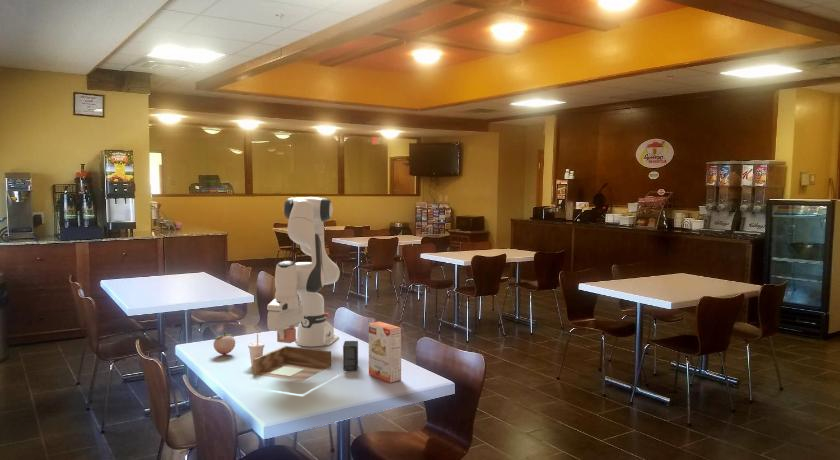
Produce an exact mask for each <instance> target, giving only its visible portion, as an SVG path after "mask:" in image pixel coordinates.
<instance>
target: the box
mask: <svg viewBox="0 0 840 460" xmlns="http://www.w3.org/2000/svg"><path fill="white" fill-rule="evenodd" d="M342 350H343V351H342V353H343V354H342V359H343V361H342V366H343V367H342V369H343V372H358V367H359V342H358V340H345V341H344V342H343V347H342Z"/></svg>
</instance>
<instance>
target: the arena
mask: <svg viewBox="0 0 840 460" xmlns="http://www.w3.org/2000/svg"><path fill="white" fill-rule="evenodd" d="M283 366H285V367H293V368H300V369H305V370H303V371H301V372H299V373H297V374H295V375H293V376H291V377H289V376H282V375H275V374H269V373H270V372H272V371H274V370H277V369H279V368H281V367H283ZM330 367H332V350H323V349H316V348H307V347H298V346H297V347H296V346H290V345H284V346H282V347H279V348H277V349H275V350H272V351H270V352H267V353H265V354H263V355H262V356H260V357H257V358H255V359H253V367H252V368H253V375H255V376H262V377H268V378H269V377H270V378H276V379H285V380H290V381H291V380H292V381H296V382H297V381H299V382H303V381H305V380H306V379H309V378H311V377H313V376H314V375H317V374H318V373H320V372H322V371H324V370H326V369H328V368H330Z"/></svg>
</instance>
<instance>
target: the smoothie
mask: <svg viewBox="0 0 840 460" xmlns="http://www.w3.org/2000/svg"><path fill="white" fill-rule="evenodd" d="M247 346H248V347H247V348H249V354H250V364H251V367H252V368H253V359H255V358H257V357H260V356H262V355H264V347H265V343H263V342H259V333H256V342H251V343H249V344H248V345H247Z"/></svg>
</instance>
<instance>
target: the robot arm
mask: <svg viewBox="0 0 840 460" xmlns="http://www.w3.org/2000/svg"><path fill="white" fill-rule="evenodd" d="M283 204H284V205H283V214H284V216H285V218H286V219H287V220H288V223H287V231H286V232H287V235H288V237H289V239H290V240H291V241H293V242H294V243H295V244H297V245H299V247H300V251H302V253H304V254H305V255H307V256H310V257H311V261H298V262H296V261H291V260H283V261H279V262H278V263H277V264H276V266H275V272H274V273H275V274H274V287H275V293H274V299H272V301H270V302H269V303H268V304H267V305H266V306H267V307H266V309H267V310H268V312H267V314H266V315H267V317H266V318H267V319H266V322H267V328H268V330H269V331H273V332H276V331H277V330H278V332H279V335H280V339H285V338H286V337H285V336H286V334H284V328H295V329H296V325H297V324H298V325H297V331H296V341H295V343H296V344H297V345H298V346H301V347H321V346H330V345H332V344H334V342H336V341H337V340H339V335H337V334H335V333H334V332H335V331H334V329H335V328H334V326H332V324H331V323H330V322H328V321H327V318H328V317H329V312H325V298H324V296H323V295H322V294H321V293H318V292H319V291H321V290H322V289H323V288H324V286H325V285H326V286H327V285H333V284H335V283H336V282H337V281H339V278H340V274H341V271H340V268H339V267H338V265H337V263H335V262H334V261H332V259H331V258H330V257H329V256H328V254H327V251H326V246H325V245H326V244H325V227H324V225H325V224H324V223H326V222H327V221H329V220H331V218H332V215H333V212H334V206H333V203H332V201H331V199H329V198H326V197H315V196H307V197H306V196H305V197H304V196H303V197H302V196H301V197H295V196H294V197H289V198H287V199H286V200H285V201H284V203H283Z"/></svg>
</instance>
